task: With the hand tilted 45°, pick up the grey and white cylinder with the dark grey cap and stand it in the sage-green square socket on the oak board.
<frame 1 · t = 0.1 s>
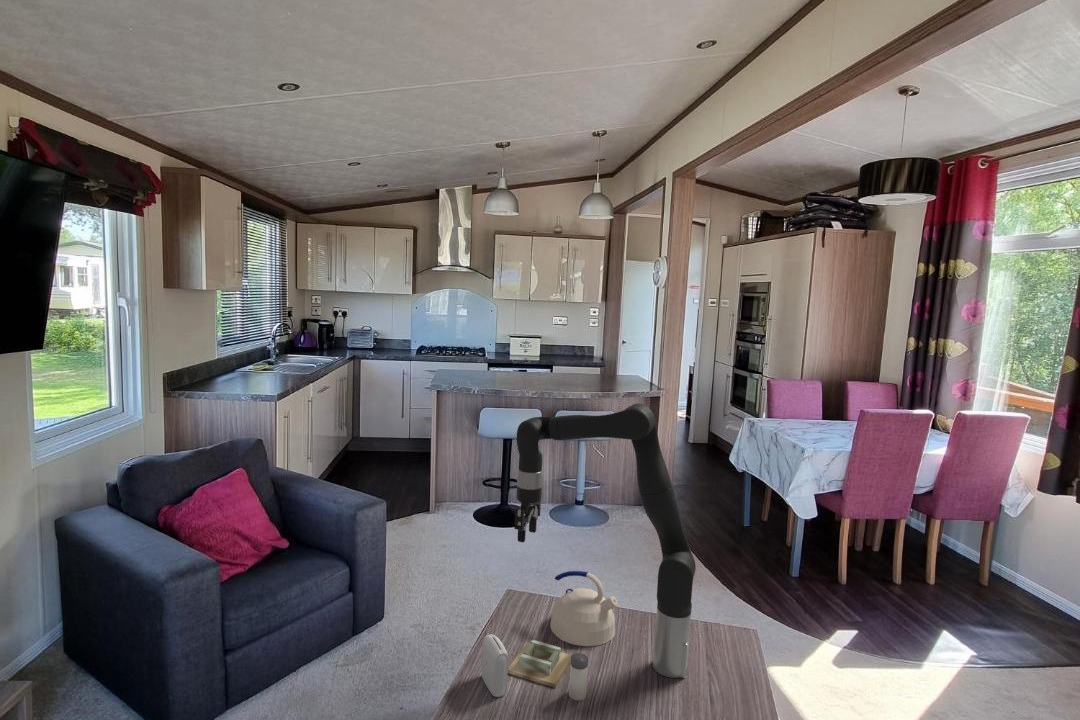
hand: (527, 536, 176), 29 cm above the table, tool pointing down, fingers open, 8 cm apart
grey and white cylinder: (577, 694, 150), on the table
kettle: (582, 628, 181), on the table
holder: (540, 665, 161), on the table
photo printer: (493, 685, 152), on the table
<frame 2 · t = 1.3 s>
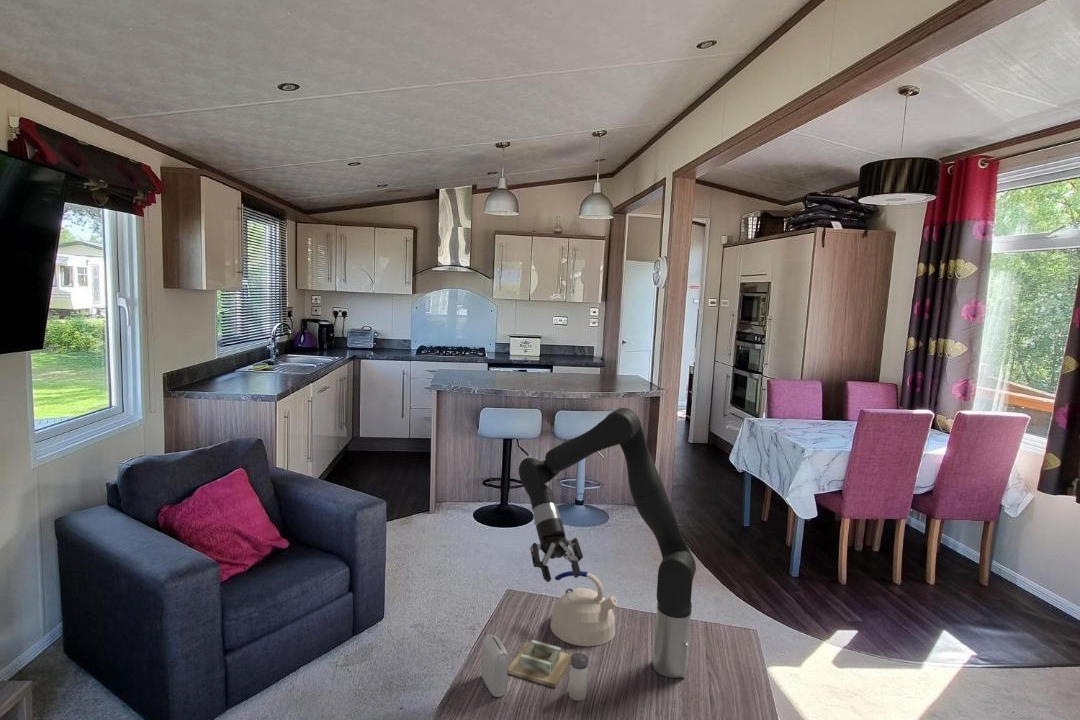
hand: (563, 578, 158), 26 cm above the table, tool tilted 45°, fingers open, 8 cm apart
nothing on the table moved.
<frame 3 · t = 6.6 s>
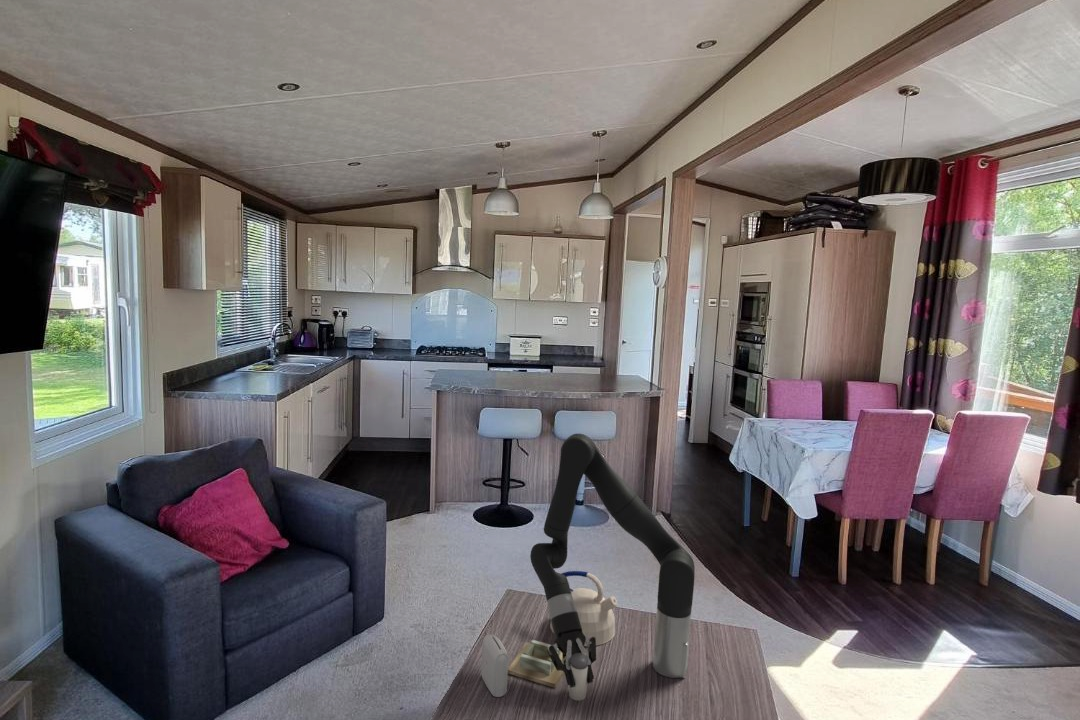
hand: (581, 684, 148), 4 cm above the table, tool tilted 45°, fingers closed on grey and white cylinder, 4 cm apart
grey and white cylinder: (577, 694, 150), on the table, touching gripper
everything else where it was.
when the fingers open (7 cm above the table, at t = 12.2 s): grey and white cylinder drops 1 cm, resting on holder.
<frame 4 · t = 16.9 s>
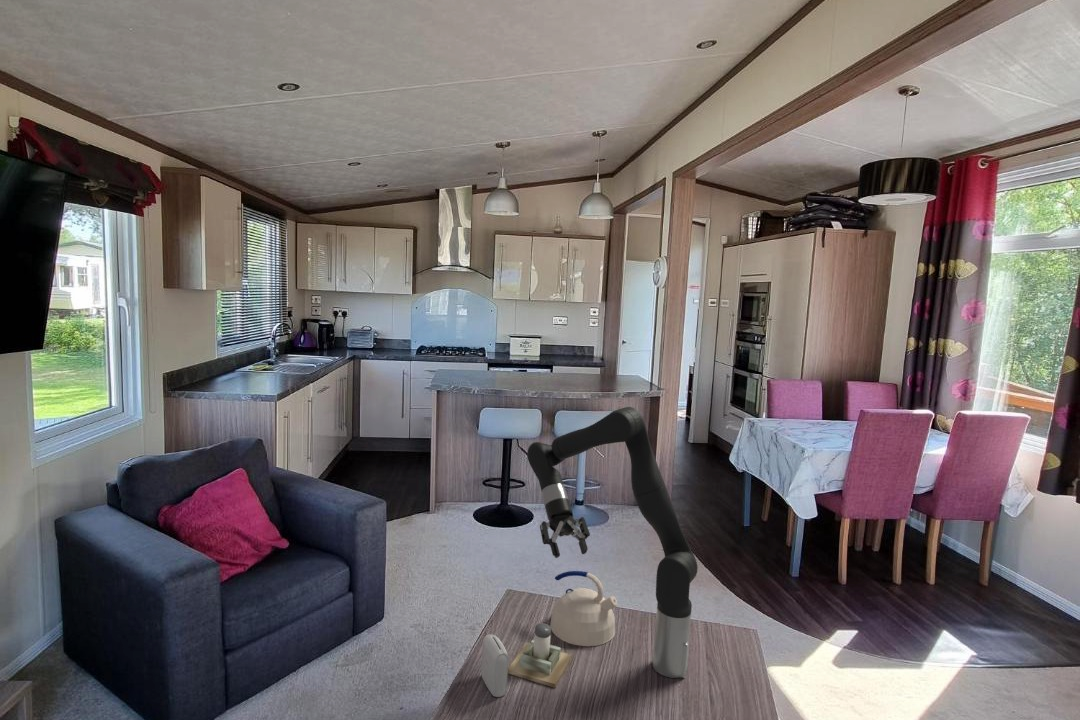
hand: (571, 555, 166), 29 cm above the table, tool tilted 45°, fingers open, 8 cm apart
grey and white cylinder: (540, 661, 161), point 1 cm above the table, touching holder
everything else where it was.
at the end: grey and white cylinder 0.1 cm off-centre on the holder, point 1.0 cm above the holder's base; grey and white cylinder tilted 1°; the gripper is holding nothing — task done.
